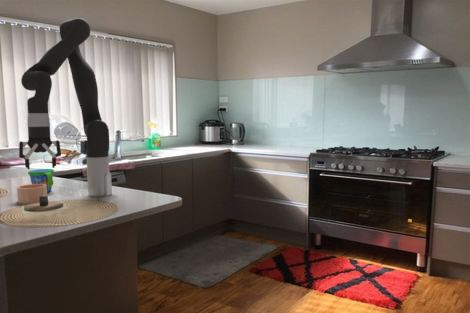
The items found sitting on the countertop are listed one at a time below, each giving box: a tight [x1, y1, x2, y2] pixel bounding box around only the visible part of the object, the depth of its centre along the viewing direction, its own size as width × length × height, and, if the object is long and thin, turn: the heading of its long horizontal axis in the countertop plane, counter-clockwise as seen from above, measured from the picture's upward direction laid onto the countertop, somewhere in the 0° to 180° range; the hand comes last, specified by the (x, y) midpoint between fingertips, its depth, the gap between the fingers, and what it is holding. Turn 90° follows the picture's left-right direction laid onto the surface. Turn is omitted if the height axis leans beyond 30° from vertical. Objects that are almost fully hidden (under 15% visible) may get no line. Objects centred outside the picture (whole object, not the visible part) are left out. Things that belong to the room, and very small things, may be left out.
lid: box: [24, 194, 63, 212], centre depth 159 cm, size 14×14×4 cm
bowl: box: [16, 183, 48, 205], centre depth 171 cm, size 11×11×6 cm
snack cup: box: [27, 168, 55, 193], centre depth 192 cm, size 16×10×10 cm
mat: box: [21, 200, 68, 215], centre depth 159 cm, size 15×15×1 cm
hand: (41, 168), depth 157 cm, fingers open, 8 cm apart
